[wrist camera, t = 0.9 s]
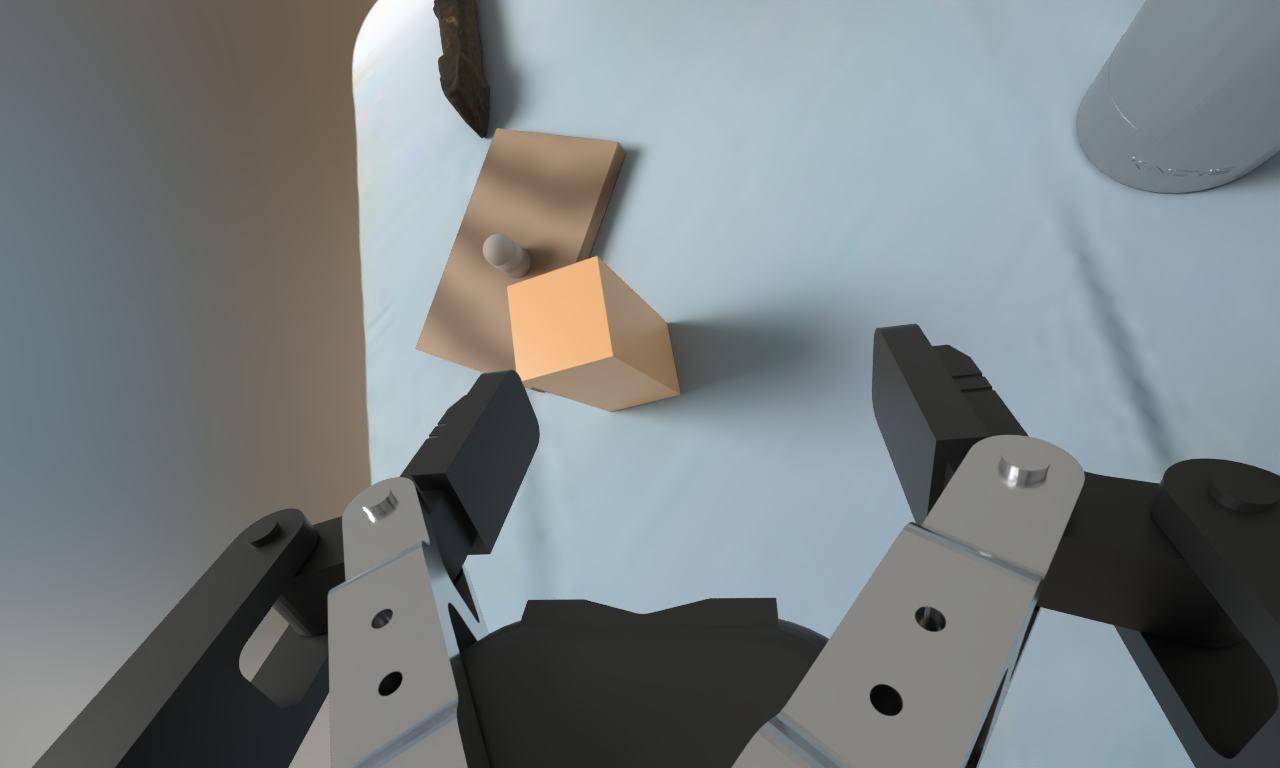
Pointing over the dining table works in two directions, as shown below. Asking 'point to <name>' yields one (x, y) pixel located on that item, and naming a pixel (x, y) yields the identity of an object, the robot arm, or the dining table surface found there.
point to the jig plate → (517, 238)
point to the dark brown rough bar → (462, 62)
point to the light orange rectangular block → (590, 338)
